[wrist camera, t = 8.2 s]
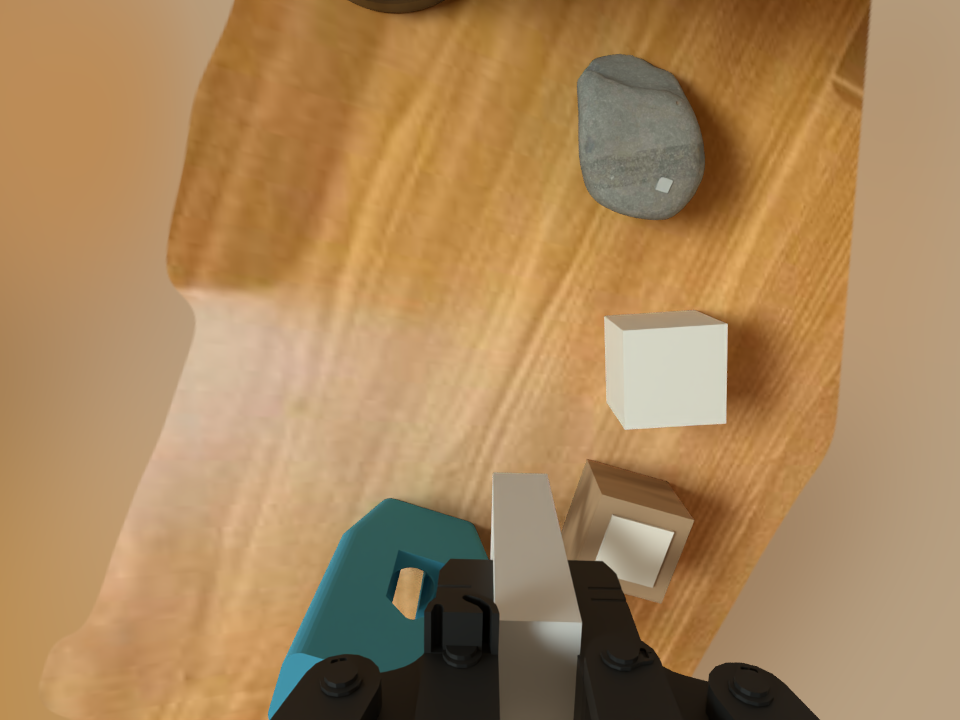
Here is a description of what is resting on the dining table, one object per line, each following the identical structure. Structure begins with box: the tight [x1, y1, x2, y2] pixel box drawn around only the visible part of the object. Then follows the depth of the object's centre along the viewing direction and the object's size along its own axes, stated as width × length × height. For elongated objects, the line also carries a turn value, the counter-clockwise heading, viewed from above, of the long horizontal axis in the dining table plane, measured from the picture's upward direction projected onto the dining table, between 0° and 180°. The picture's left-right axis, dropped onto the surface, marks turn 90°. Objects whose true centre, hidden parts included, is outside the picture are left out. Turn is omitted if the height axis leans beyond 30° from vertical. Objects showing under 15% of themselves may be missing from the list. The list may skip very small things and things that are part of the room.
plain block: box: [604, 310, 728, 430], centre depth 46 cm, size 7×7×7 cm
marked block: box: [561, 459, 694, 603], centre depth 49 cm, size 7×7×7 cm
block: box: [268, 498, 489, 720], centre depth 43 cm, size 12×5×20 cm, turn 72°
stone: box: [577, 54, 705, 220], centre depth 44 cm, size 9×9×10 cm
